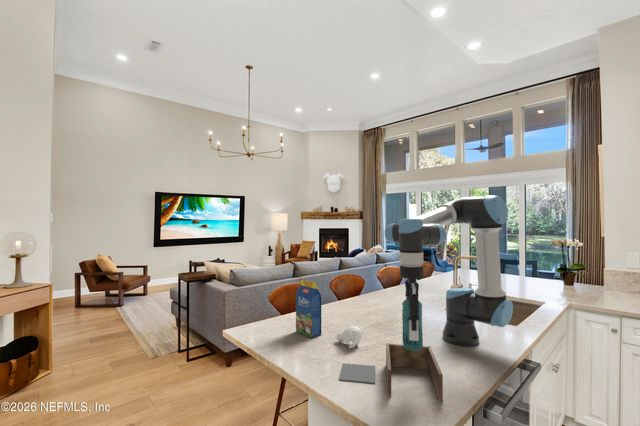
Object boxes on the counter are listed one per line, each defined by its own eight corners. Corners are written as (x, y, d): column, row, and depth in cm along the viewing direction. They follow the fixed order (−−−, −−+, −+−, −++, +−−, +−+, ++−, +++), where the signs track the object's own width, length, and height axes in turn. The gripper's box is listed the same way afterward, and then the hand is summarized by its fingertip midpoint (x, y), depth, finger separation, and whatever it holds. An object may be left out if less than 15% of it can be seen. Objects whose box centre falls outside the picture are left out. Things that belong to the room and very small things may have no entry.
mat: (375, 367, 113) (375, 365, 113) (375, 383, 102) (375, 382, 102) (343, 364, 116) (343, 363, 116) (339, 380, 104) (339, 379, 104)
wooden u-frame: (430, 368, 112) (430, 346, 112) (442, 401, 92) (442, 374, 92) (386, 364, 115) (386, 343, 115) (388, 396, 95) (387, 369, 95)
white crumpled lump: (353, 329, 128) (332, 325, 137) (355, 350, 128) (333, 345, 136) (362, 325, 133) (341, 322, 141) (364, 345, 132) (342, 341, 140)
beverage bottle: (419, 346, 103) (418, 287, 104) (426, 355, 97) (425, 291, 97) (400, 347, 103) (398, 287, 104) (406, 356, 97) (405, 292, 97)
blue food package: (311, 338, 141) (311, 284, 142) (295, 331, 150) (295, 280, 151) (321, 335, 146) (321, 282, 146) (305, 328, 154) (305, 278, 155)
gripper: (397, 261, 111) (398, 325, 110) (401, 269, 92) (403, 347, 91) (419, 261, 109) (420, 326, 109) (428, 270, 90) (429, 349, 90)
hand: (412, 335), depth 100 cm, fingers closed on beverage bottle, 6 cm apart
